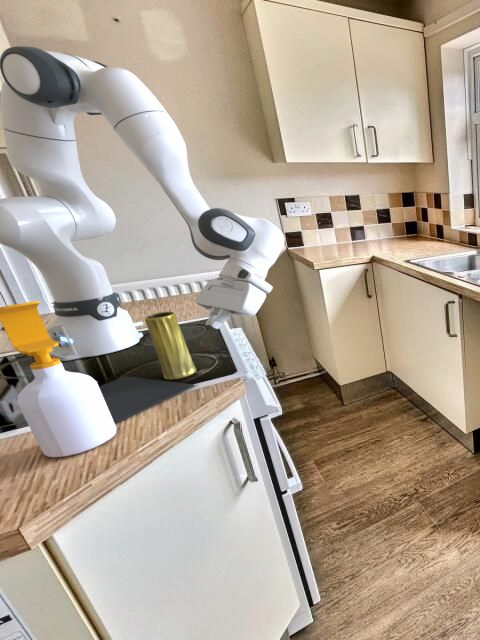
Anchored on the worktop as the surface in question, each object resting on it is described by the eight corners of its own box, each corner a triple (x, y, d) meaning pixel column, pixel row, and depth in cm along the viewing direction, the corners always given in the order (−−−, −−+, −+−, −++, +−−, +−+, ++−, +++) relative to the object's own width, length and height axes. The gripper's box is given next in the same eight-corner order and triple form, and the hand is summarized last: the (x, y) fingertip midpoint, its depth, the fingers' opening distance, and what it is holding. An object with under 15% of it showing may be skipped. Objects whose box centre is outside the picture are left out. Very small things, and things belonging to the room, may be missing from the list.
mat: (43, 410, 82) (42, 408, 82) (126, 377, 95) (125, 375, 95) (117, 422, 77) (116, 421, 77) (194, 386, 90) (193, 384, 90)
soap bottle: (53, 465, 65) (-24, 314, 57) (37, 448, 70) (-37, 306, 61) (125, 436, 72) (67, 298, 64) (106, 422, 77) (49, 292, 68)
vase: (160, 382, 92) (138, 321, 87) (167, 372, 97) (146, 313, 92) (194, 376, 95) (174, 316, 90) (198, 366, 100) (179, 309, 95)
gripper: (206, 268, 107) (175, 315, 103) (255, 274, 98) (223, 326, 93) (229, 281, 112) (200, 327, 108) (277, 288, 103) (248, 338, 99)
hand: (211, 327), depth 100 cm, fingers closed
